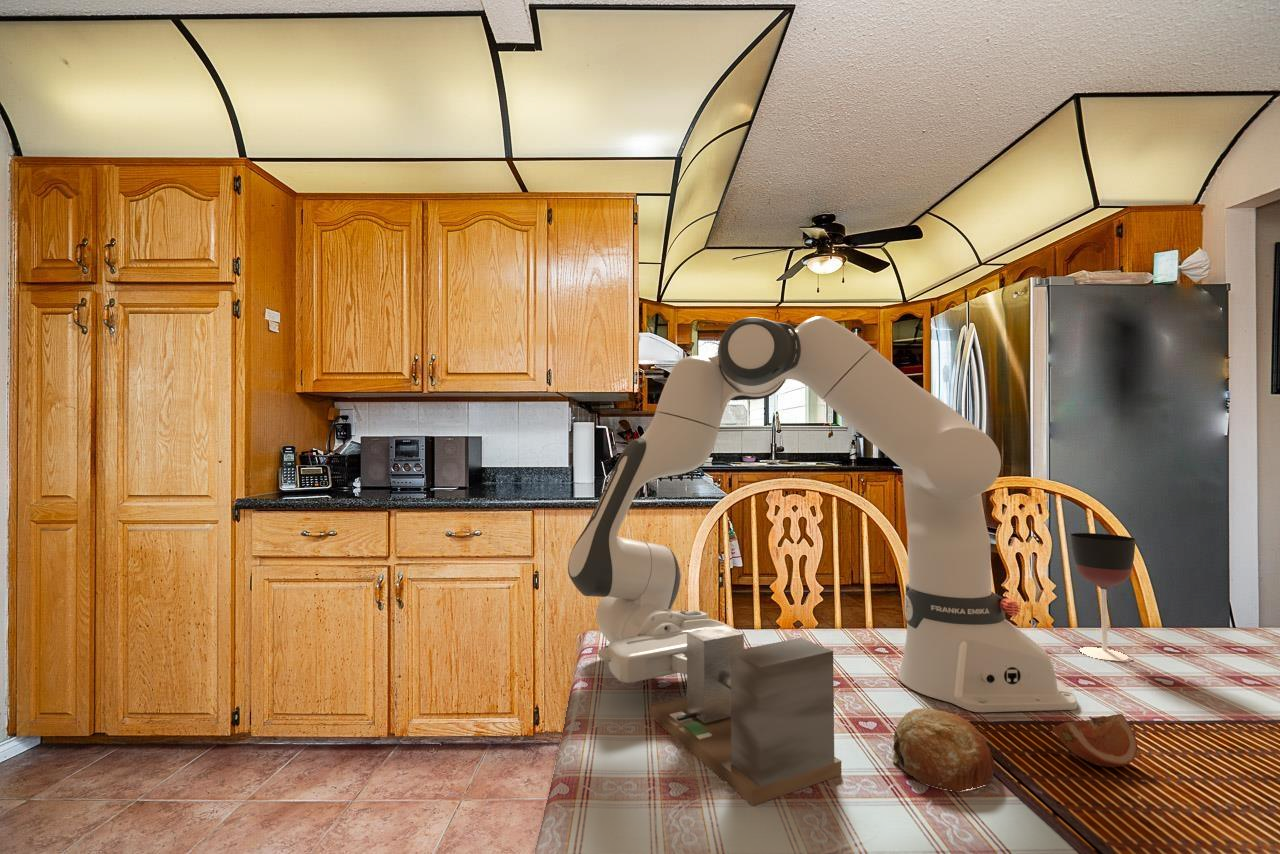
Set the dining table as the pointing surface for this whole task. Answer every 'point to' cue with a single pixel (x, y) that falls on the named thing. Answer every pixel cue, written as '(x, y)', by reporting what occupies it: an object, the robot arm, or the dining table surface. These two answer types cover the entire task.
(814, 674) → the base
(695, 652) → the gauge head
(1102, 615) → the wineglass
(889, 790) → the dining table surface
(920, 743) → the bread roll
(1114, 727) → the fruit slice
